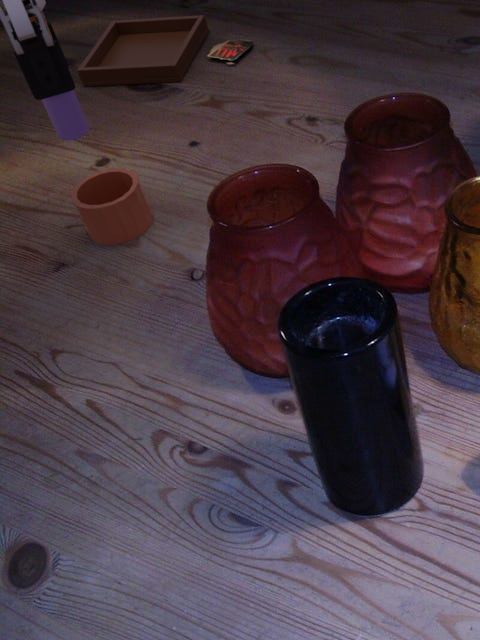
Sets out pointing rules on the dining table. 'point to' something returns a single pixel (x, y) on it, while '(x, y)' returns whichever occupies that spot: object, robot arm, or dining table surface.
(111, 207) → the cup
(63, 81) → the robot arm
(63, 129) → the glue stick
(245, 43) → the matchbox
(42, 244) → the dining table surface
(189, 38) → the tray
